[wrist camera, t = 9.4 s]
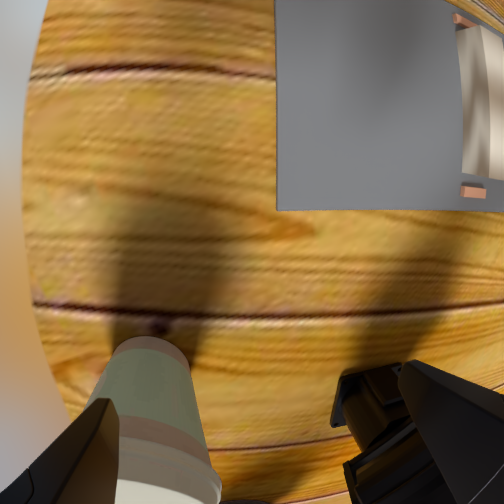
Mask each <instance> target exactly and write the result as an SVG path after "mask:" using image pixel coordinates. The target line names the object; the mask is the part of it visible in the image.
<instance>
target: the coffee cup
mask: <svg viewBox="0 0 504 504" xmlns="http://www.w3.org/2000/svg"><path fill="white" fill-rule="evenodd" d="M99 397H101V398H110V399H111V400H112V401H113V404H114V406H115V409H116V411H117V414H118V417H119V421H120V429H119V470H118V479H117V487H116V497H115V504H219V502H220V499H221V489H222V483H221V479H220V477H219V476H218V474H217V473H216V472H215V470H214V469H212V466H211V462H210V458H209V454H208V450H207V446H206V442H205V437H204V433H203V429H202V424H201V420H200V416H199V411H198V406H197V402H196V397H195V392H194V387H193V382H192V378H191V373H190V368H189V364H188V361H187V359H186V357H185V356H184V354H183V353H182V352H181V351H180V350H179V349H178V348H177V347H176V346H174V345H173V344H171V343H169V342H167V341H165V340H163V339H160V338H156V337H150V336H140V337H134V338H131V339H128V340H126V341H124V342H123V343H121V344H120V345H119V346H118V347H117V348H116V350H115V352H114V353H113V355H112V357H111V359H110V361H109V362H108V364H107V366H106V368H105V370H104V371H103V373H102V375H101V377H100V379H99V381H98V383H97V385H96V387H95V389H94V390H93V392H92V394H91V396H90V398H89V400H88V402H87V404H86V406H85V408H84V410H85V409H86V408H87V407H88V406H89V405H90V404H91V403H92V402H93V401H94V400H95V399H97V398H99ZM84 410H83V411H84Z"/></svg>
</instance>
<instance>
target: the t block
mask: <svg viewBox="0 0 504 504" xmlns="http://www.w3.org/2000/svg"><path fill="white" fill-rule="evenodd" d="M455 34H456V40H457V48H458V55H459V64H460V75H461V87H462V106H463V157H462V173H467V174H472V175H477V176H482V177H487V178H492V179H498V180H504V48H503V42H502V38H500V37H499V36H497V35H496V34H494V33H492V32H491V31H489V30H488V29H486V28H484V27H483V26H481V25H478V26H474V27H470V28H467V29H463V30H460V31H456V32H455Z"/></svg>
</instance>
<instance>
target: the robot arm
mask: <svg viewBox="0 0 504 504" xmlns="http://www.w3.org/2000/svg"><path fill="white" fill-rule="evenodd" d="M330 425H331V427H332V428H336V427H340V426H344V425H347V426H348V428H349V430H350V432H351V434H352V436H353V437H354V439H355V441H356V443H357V445H358V447H359V448H360V450H361V452H362V453H360V454H359V455H357V456H356V457H354V458H353V459H351V460H350V461H346V462H345V463H343V468H344V475H345V479H346V483H347V487H348V490H349V494H350V498H351V502H352V504H504V395H503V394H499V393H498V392H495V391H493V390H490V389H488V388H485V387H483V386H480V385H477V384H475V383H472V382H470V381H467V380H465V379H462V378H460V377H457V376H455V375H452V374H450V373H447V372H445V371H443V370H440V369H438V368H435V367H433V366H430V365H428V364H426V363H423V362H421V361H418V360H410V361H407V362H405V363H404V364H402V363H396V364H392V365H389V366H385V367H381V368H377V369H372V370H368V371H364V372H359V373H355V374H350V375H345V376H343V377H341V378H340V380H339V384H338V388H337V393H336V398H335V402H334V407H333V411H332V416H331V420H330ZM119 429H120V421H119V417H118V414H117V411H116V409H115V406H114V404H113V401H112V400H111V399H110V398H101V397H99V398H97V399H95V400H94V401H93V402H92V403H91V404H90V405H89V406H88V407H87V408H86V409H85V410H84V411H83V412H82V413H81V414H80V415H79V416H78V417H77V418H76V419H75V420H74V421H73V422H72V423H71V424H70V425H69V426H68V427H67V428H66V429H65V430H64V432H63V433H62V434H60V435H59V436H58V438H57V439H55V441H54V442H53V443H52V444H51V445H50V446H49V447H48V448H47V449H46V450H45V451H44V452H43V453H42V454H41V455H40V456H39V457H38V458H37V459H36V460H35V461H34V462H33V463H32V464H31V465H30V466H29V469H28V468H27V469H26V470H25V471H24V472H23V473H22V474H21V475H20V476H19V477H18V478H17V479H16V480H15V481H13V482H12V484H10V485H9V486H8V487H7V488H6V489H4V490H3V491H2V492H1V493H0V504H115V497H116V487H117V479H118V470H119Z"/></svg>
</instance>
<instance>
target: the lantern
mask: <svg viewBox="0 0 504 504" xmlns="http://www.w3.org/2000/svg"><path fill="white" fill-rule="evenodd" d="M219 504H269V503H266V502H264V501H257V500H232V501H224V502H219Z"/></svg>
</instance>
